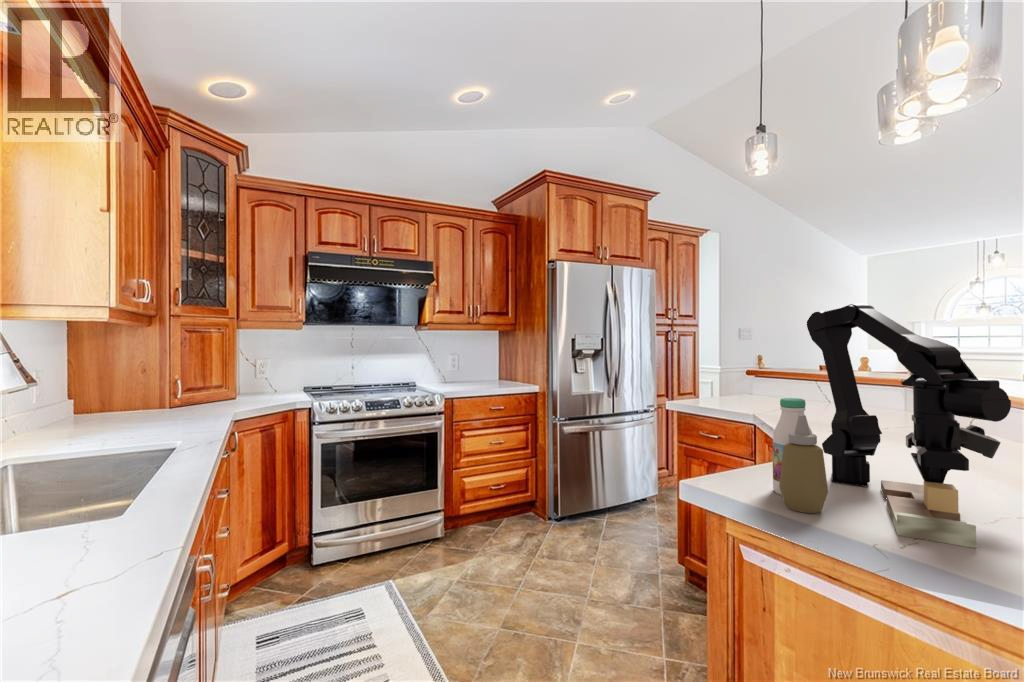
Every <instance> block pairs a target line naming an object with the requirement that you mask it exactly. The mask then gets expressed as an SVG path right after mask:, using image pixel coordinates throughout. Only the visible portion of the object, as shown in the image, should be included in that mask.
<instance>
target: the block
mask: <svg viewBox="0 0 1024 682" xmlns="http://www.w3.org/2000/svg"><path fill="white" fill-rule="evenodd" d="M923 485H924V504H925V505H926V507H927V509H928V510H935V511H942V512H949V513H956V514H958V512H959V490H958V489H957V488H956V486H955V485H954V484H951V483H945V482H944V483H935V482H926V481H924V480H923Z"/></svg>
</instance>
